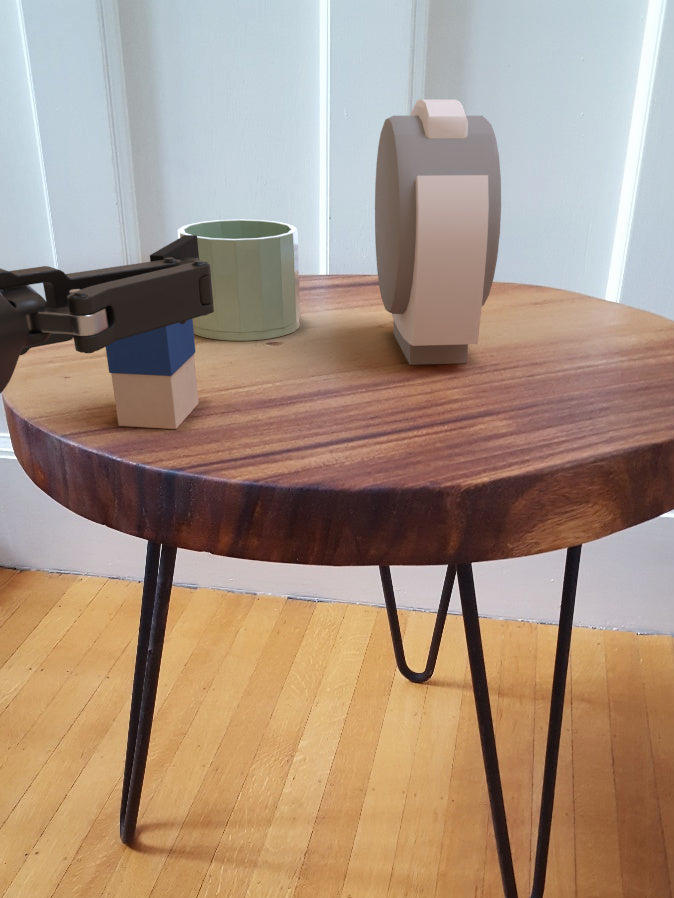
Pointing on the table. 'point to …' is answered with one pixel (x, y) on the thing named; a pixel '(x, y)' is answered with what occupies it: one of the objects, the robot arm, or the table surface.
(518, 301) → the table surface
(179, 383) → the eraser
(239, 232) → the cup
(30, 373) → the table surface
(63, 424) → the table surface
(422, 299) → the alarm clock
